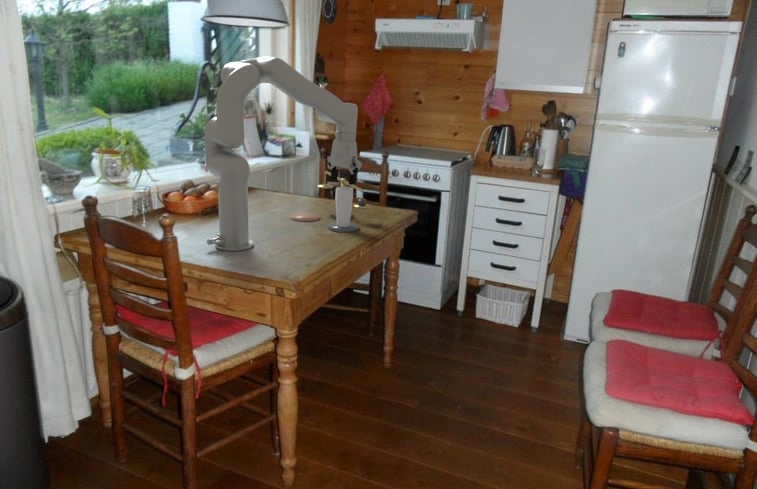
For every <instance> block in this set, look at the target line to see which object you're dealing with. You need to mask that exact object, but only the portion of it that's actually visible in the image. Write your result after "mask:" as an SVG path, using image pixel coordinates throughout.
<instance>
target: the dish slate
mask: <svg viewBox="0 0 757 489" xmlns="http://www.w3.org/2000/svg"><path fill="white" fill-rule="evenodd" d="M336 222H337V221H334V222H330V223H328V224H327V229H328V230H330V231H332V232H335V233H354V232H357V231H358V230H359V225H358V224H356V223H354V222H350V226H349V227H338V226H337V224H336Z"/></svg>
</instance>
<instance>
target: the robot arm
mask: <svg viewBox="0 0 757 489" xmlns="http://www.w3.org/2000/svg"><path fill="white" fill-rule="evenodd" d="M220 80H221V86H220V87H219V89H218V91H217V94H216V100H215V102H216V103H215V113H216V115H215V116H214V117H213V118H210V119H209V120H208V121H207V123H206V125H205V128H204V151H205V161H206V162H205V163H206V167H207V170H208V171H209V173H210V174H211V175H212V176H215V177H216V178H218V179H219V180H220V181H219V185H218V191H217V194H218V195H217V198H218V199H217V200H218V219H219V220H218V224H219V227H218V228H219V233H216V236H214V237H212V238H208V239H207V240H206V244H207V245H208V246H210V245H215V248H216V249H218V250H221V251H224V252H225V251H226V252H239V251H241V252H242V251H246V250H249V249H251V248H252V247H254V241H253V240H252V239H250V238H249V237H250V236H249V235H250V234H249V231H250V230H249V197H248V196H249V194H248V193H249V192H248V191H249V190H248V189H249V180H250V175H251V174H250V173H251V171H250V170H251V169H250V168H251V167H250V164H249V162H248V160H247V159H246V158H245V157H244V156H243V155H241V154H239V153H236V152H234V151H233V150H234V149H238V148H240V147H242V145H243V144H244V142H245V136H246V135H245V131H246V130H245V114H244V113H245V101H246V99H247V98H248V96H249V95H250V93H251V92H252V91H254V89H256V88H257V87H258V86H259V85H260V84H270V85H272V86H274V87H275V88H276V89H278V90H279V91H281V92H282V93H284V94H285V95H286V96H288V97H289V98H290V99H292V100H293V101H295V102H296V103H299V104H301V105H304V106H307V107H309V108H310V107H311V108H312V109H314V114H315V116H316V118H317V119H318V120H319V121H321V122H324V123H329V124H335V132H334V136H335V139H333V142H332V146H331V151H330V155H328V156H327V158H326V159H327V160H326V161H327V163H328V164H327V165H328V166H329V170H330V173H331V176H330V181H337V177H339V176H338V174H339V170H338V168H341V169H348V170H349V172H350V174H349V176H348V182H349V185H356V184H357V175H358V174H359V172H360V171H361V168H362V166H363V163H362V162H361V161H360V160H359V159H358V146H357V141H356V140H357V139H356V138H357V122H358V105H357V104H356V103H352V102H344V101H343V100H341V99H340V98H339V97H338V96H336V95H335V94H333V93H332V92H330V91H328V90H327V89H325V88H323V87H321V86H320V85H319V84H317V83H315V82H313V81H311V80H309V79H308V78H306V77H305V76H304V75H303V74H301V73H300V72H299V71H298V70H296V69H295V68H294V67H292V66H291V65H290V64H289V63H287V62H286V61H285V60H283V59H282V58H279V57H278V56H277V57H276V56H261V57H256V58H250V59H244V60H238V61H232V62H229V63H227V64H225V65H224V66H223V67H222V69H221V71H220ZM349 185H348V186H349Z"/></svg>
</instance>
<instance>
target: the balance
mask: <svg viewBox="0 0 757 489" xmlns="http://www.w3.org/2000/svg"><path fill="white" fill-rule="evenodd" d="M326 175H328V176H330V177H331V171H328V170H324V183H319V184H317V185H316V188H318V189H326V190H330V189H333V188H334V185H333V184H330V183H329V184H328V183H326V180H327V179H326V178H327V176H326ZM337 180H338V181H340V187H347V186H348V187H349V186H350V187H351V188H353V189H355V190H357V191H359V192H361V198H359V199H358V200H357V202H358V203H353V204H352V208H355V209H361V210H364V209H365V210H367V209H370V208H371V204H369V203H367V199H366V198H364V189H363V188H361V187H359V186H357V185H356V184H353V185H349V181H347V179H346V178H344V177H339V176H338V177H337ZM337 180H336V181H337ZM346 185H347V186H346ZM330 218H331V219H335V220H337V219H336V213H331V214H330ZM352 218H355V214H353V213H351V219H352Z"/></svg>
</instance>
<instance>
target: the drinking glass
mask: <svg viewBox="0 0 757 489" xmlns="http://www.w3.org/2000/svg"><path fill="white" fill-rule="evenodd" d="M334 200H335V214H336V219H335V220H336V221H335V222H336V224H337V226H338V227H349V226H350V223H351V219H352V218H351V214H352V209H353V201H354V188H353V187H351V186H350V187H349V186H345V187H341V186H337V187H336V188H335V199H334Z"/></svg>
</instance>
